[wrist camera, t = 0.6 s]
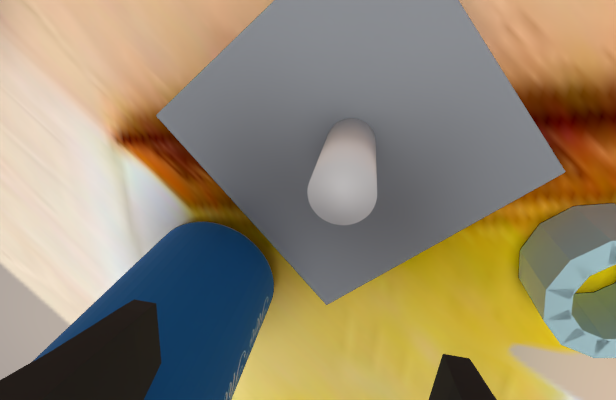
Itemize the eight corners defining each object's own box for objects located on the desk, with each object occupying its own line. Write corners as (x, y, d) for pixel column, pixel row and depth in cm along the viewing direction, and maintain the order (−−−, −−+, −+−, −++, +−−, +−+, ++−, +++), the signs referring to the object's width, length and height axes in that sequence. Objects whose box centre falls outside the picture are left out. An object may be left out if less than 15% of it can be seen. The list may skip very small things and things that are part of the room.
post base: (555, 163, 16) (656, 241, 11) (328, 292, 21) (311, 398, 15) (388, -102, 14) (400, -198, 8) (166, 110, 18) (66, 153, 12)
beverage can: (271, 329, 22) (166, 617, 11) (163, 304, 23) (-36, 554, 12) (283, 228, 19) (160, 477, 9) (160, 204, 20) (-99, 406, 9)
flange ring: (679, 275, 18) (735, 321, 15) (554, 327, 20) (583, 376, 17) (624, 180, 16) (674, 211, 14) (496, 246, 18) (518, 285, 16)
